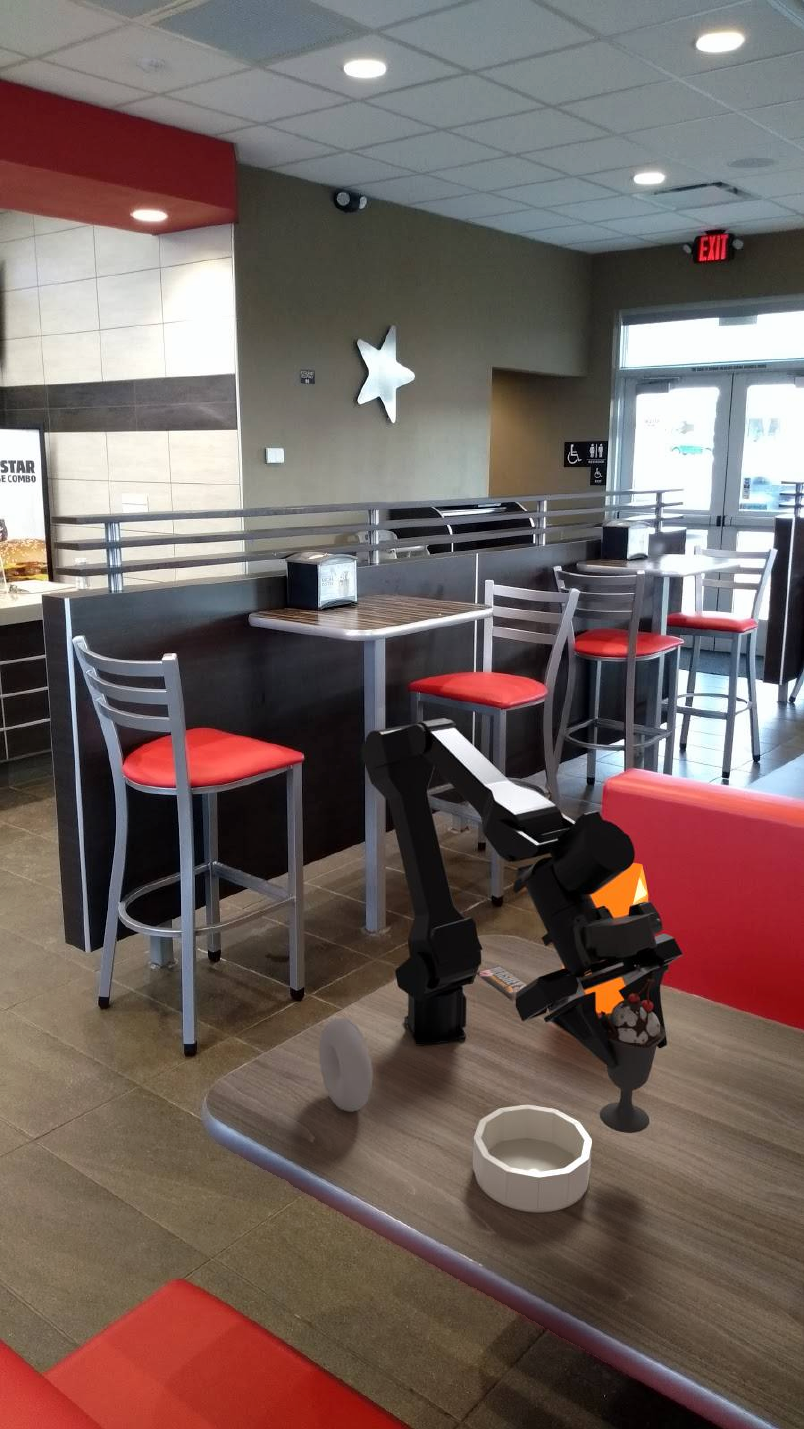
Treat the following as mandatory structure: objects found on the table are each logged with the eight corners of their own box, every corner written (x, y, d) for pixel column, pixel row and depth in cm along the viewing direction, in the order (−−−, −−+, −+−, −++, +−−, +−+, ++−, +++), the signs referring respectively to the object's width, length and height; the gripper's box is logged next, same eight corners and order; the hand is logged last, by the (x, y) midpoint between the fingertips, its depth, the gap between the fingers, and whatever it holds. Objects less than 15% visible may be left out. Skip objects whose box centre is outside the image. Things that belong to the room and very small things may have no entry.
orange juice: (624, 1020, 138) (633, 874, 133) (559, 1002, 142) (566, 861, 138) (642, 994, 145) (652, 855, 140) (580, 978, 149) (587, 842, 144)
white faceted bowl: (495, 1220, 101) (497, 1184, 101) (460, 1147, 112) (461, 1113, 111) (607, 1202, 104) (609, 1166, 103) (562, 1132, 115) (564, 1099, 114)
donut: (377, 1125, 116) (377, 1041, 113) (347, 1133, 114) (347, 1048, 112) (342, 1077, 125) (342, 999, 122) (314, 1084, 123) (313, 1005, 121)
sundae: (666, 1111, 109) (678, 977, 106) (645, 1146, 104) (657, 1006, 100) (605, 1091, 113) (614, 960, 109) (581, 1124, 107) (590, 988, 103)
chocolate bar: (469, 973, 151) (469, 968, 151) (498, 965, 153) (498, 960, 153) (514, 1007, 142) (515, 1002, 142) (544, 998, 144) (544, 993, 144)
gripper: (540, 901, 100) (618, 1061, 94) (676, 861, 111) (754, 1003, 104) (484, 945, 108) (552, 1096, 102) (615, 904, 119) (684, 1039, 113)
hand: (639, 1057), depth 105 cm, fingers closed on sundae, 6 cm apart
